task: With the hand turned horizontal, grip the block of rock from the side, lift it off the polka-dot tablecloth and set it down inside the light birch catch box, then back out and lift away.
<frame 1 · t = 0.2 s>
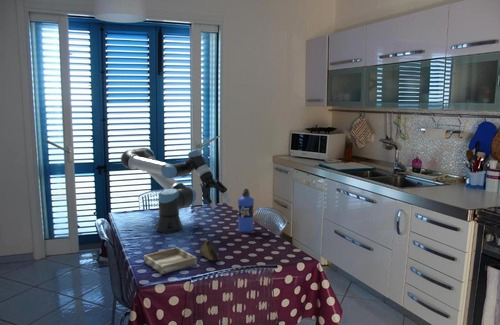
hand: (221, 205, 245), 16 cm above the table, tool tilted 35°, fingers open, 13 cm apart
blue plastic bottle: (245, 230, 249), on the table
catch box: (170, 263, 199), on the table
rock: (209, 257, 207), on the table
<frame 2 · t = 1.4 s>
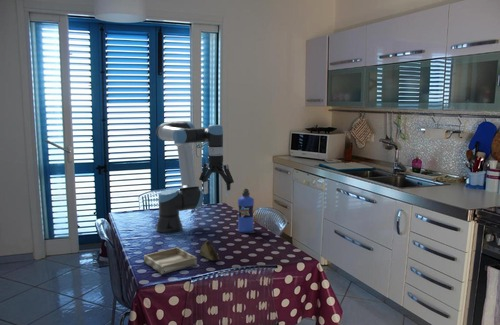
hand: (216, 195, 221), 27 cm above the table, tool pointing down, fingers open, 13 cm apart
nothing on the table moved.
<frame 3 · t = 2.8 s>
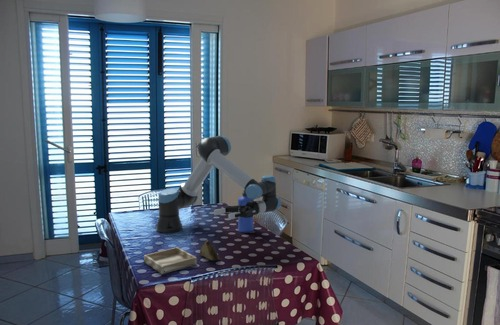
hand: (221, 214, 210), 20 cm above the table, tool horizontal, fingers open, 13 cm apart
nothing on the table moved.
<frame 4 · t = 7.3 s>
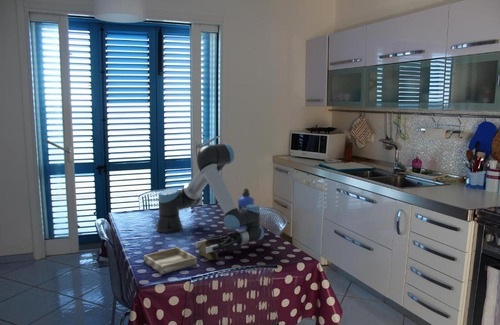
hand: (201, 247, 203), 6 cm above the table, tool horizontal, fingers closed on rock, 8 cm apart
rock: (208, 257, 207), on the table, touching gripper
everything else where it was.
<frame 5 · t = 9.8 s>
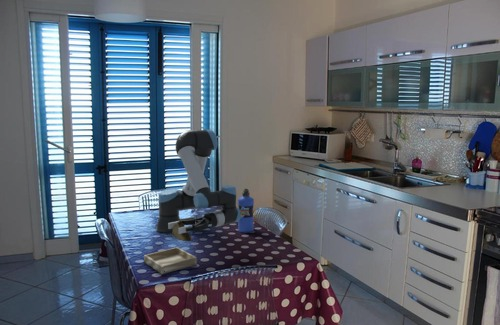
hand: (173, 228, 194), 18 cm above the table, tool horizontal, fingers closed on rock, 8 cm apart
rock: (181, 239, 199), point 11 cm above the table, touching gripper
everything else where it was.
when the fingers open (8 cm above the table, at t = 12.5 s): rock drops 1 cm, resting on catch box.
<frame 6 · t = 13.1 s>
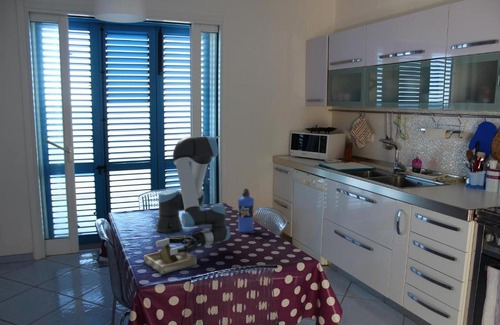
hand: (163, 248, 196), 8 cm above the table, tool horizontal, fingers open, 13 cm apart
rock: (169, 261, 199), point 1 cm above the table, touching catch box
everything else where it was.
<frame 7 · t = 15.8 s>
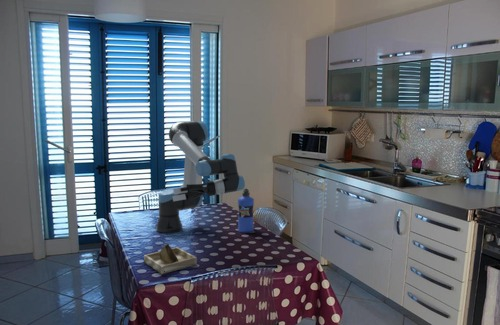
hand: (173, 195, 209), 29 cm above the table, tool horizontal, fingers open, 13 cm apart
nothing on the table moved.
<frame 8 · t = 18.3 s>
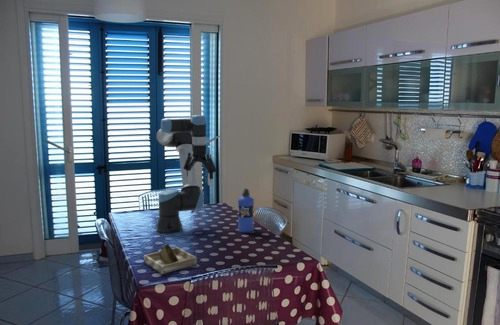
hand: (199, 183, 227), 32 cm above the table, tool pointing down, fingers open, 13 cm apart
nothing on the table moved.
at the end: rock 0.6 cm from the catch box (horizontally); rock point 0.6 cm above the table; the gripper is holding nothing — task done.
